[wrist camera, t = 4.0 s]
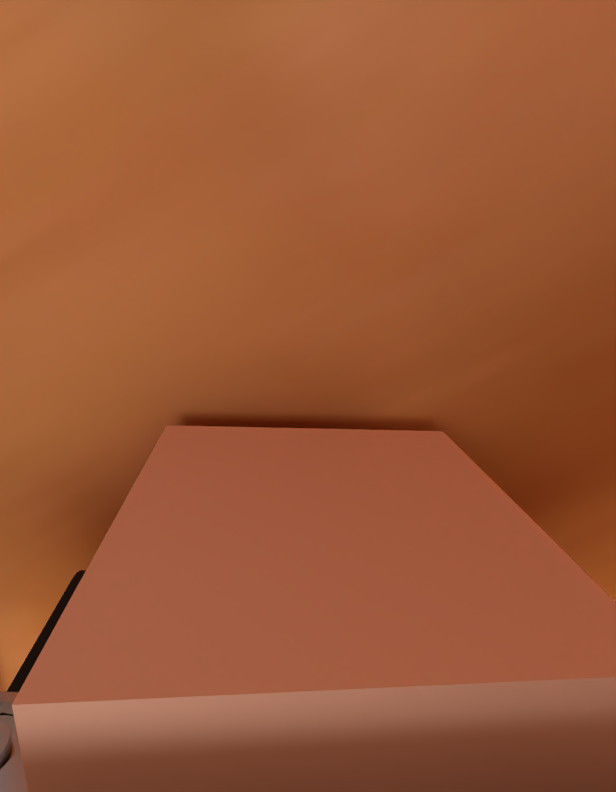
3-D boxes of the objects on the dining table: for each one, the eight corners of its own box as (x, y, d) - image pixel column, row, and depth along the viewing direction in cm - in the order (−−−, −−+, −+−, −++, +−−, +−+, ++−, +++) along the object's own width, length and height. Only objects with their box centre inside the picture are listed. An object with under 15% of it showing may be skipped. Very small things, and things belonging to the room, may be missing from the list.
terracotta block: (443, 431, 10) (689, 673, 4) (407, 641, 12) (545, 1009, 6) (166, 425, 9) (11, 705, 4) (174, 649, 11) (81, 1072, 5)
